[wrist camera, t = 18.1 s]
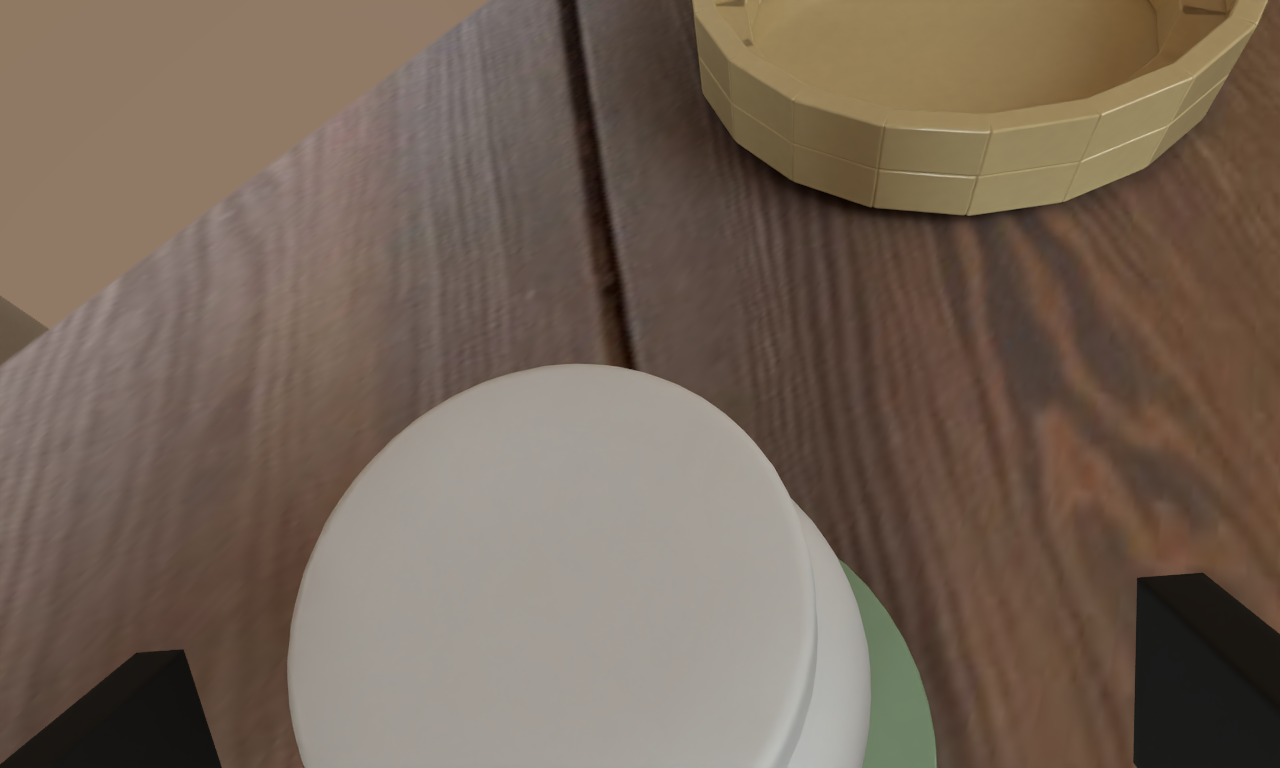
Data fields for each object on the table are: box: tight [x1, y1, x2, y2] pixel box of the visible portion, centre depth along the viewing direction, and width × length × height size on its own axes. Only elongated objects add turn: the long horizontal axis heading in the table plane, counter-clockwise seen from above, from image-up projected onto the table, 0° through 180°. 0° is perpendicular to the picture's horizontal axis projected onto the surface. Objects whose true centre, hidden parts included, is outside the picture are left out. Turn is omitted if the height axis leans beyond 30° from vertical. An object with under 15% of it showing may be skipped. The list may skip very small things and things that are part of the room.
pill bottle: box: [287, 364, 871, 768], centre depth 11 cm, size 6×6×11 cm
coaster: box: [837, 558, 937, 768], centre depth 16 cm, size 10×10×1 cm
